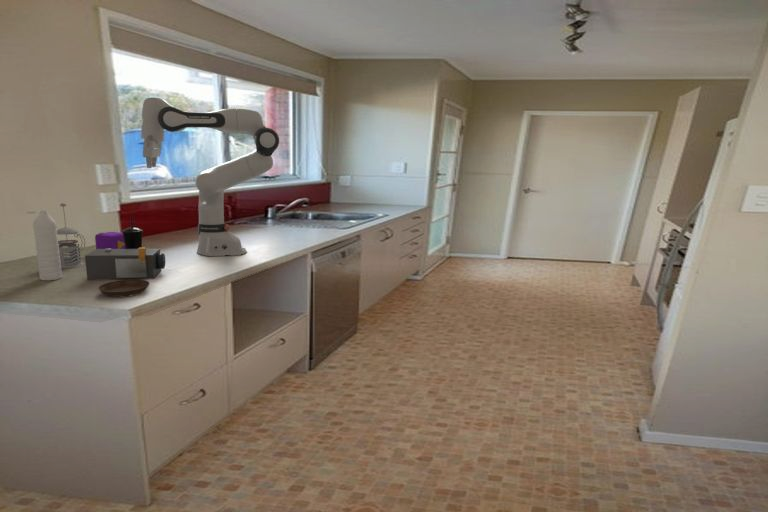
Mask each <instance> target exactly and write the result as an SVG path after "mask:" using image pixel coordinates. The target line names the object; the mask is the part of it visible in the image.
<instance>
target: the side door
mask: <svg viewBox="0 0 768 512" xmlns="http://www.w3.org/2000/svg"><path fill="white" fill-rule="evenodd" d="M146 249H147V247H142V248H138V253H139V258H116V259H115V265H116V276H117V278H129V277H147V264H146Z"/></svg>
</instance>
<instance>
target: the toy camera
mask: <svg viewBox="0 0 768 512" xmlns="http://www.w3.org/2000/svg"><path fill="white" fill-rule="evenodd" d="M94 239H95V240H94V241H95V247H96V248H95V250H96V249H107V248H111V249H126V247H125V242H124V236H123V232H118V231H106V232H104V231H100V232H99V233H96V234H95V236H94Z"/></svg>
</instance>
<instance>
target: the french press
mask: <svg viewBox="0 0 768 512" xmlns="http://www.w3.org/2000/svg"><path fill="white" fill-rule="evenodd" d="M59 205H60V206H59V207H62V208H63V209H62V211H63V212H65V207H67V204H66V203H65V202H63V203H62V202H61V203H60V204H59ZM63 217H64V220H63V221H66V215H65V213H63ZM66 224H67V223H66V222H64V227H61V228H57V229H56V230H57V235H66V238H68V235H74V237H75V238H78V237H79V238H80V240H81V242H83V240H84V242H83V243H84V245H83V243H81V245H80V244H79V243H78V242H79V241H78V240H76V239H64V240H62V239H61V240H58V245H59V253H60V254H59V256H60V262H61V269H70V268H78V267H79V268H80V267H82V266H84V265H85V263H84V262H82V259H81V251H83V250H84V248H85V246H86V239H85V237H84V235H82V234H80V233H79V230H78V229H76V228H73V227H67V225H66ZM82 247H83V248H82ZM81 248H82V249H81Z"/></svg>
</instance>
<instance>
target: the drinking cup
mask: <svg viewBox="0 0 768 512" xmlns="http://www.w3.org/2000/svg"><path fill="white" fill-rule="evenodd" d="M129 217H130V226H129V227H127V228H124V229H122V230H121V233H123V236H124V242H125V247H126V249H138V248H143V247H142V246H143V245H142V242H143V231H144V230H143V229H142V228H139V227H134V223H133V215H132V214H130V216H129Z"/></svg>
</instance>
